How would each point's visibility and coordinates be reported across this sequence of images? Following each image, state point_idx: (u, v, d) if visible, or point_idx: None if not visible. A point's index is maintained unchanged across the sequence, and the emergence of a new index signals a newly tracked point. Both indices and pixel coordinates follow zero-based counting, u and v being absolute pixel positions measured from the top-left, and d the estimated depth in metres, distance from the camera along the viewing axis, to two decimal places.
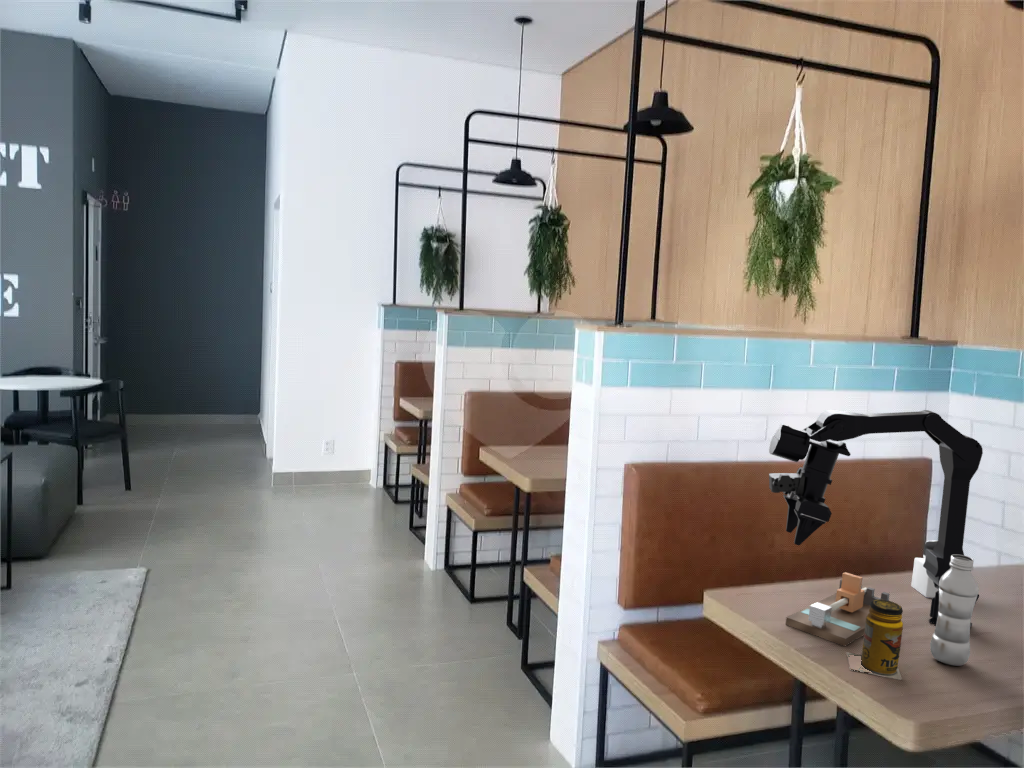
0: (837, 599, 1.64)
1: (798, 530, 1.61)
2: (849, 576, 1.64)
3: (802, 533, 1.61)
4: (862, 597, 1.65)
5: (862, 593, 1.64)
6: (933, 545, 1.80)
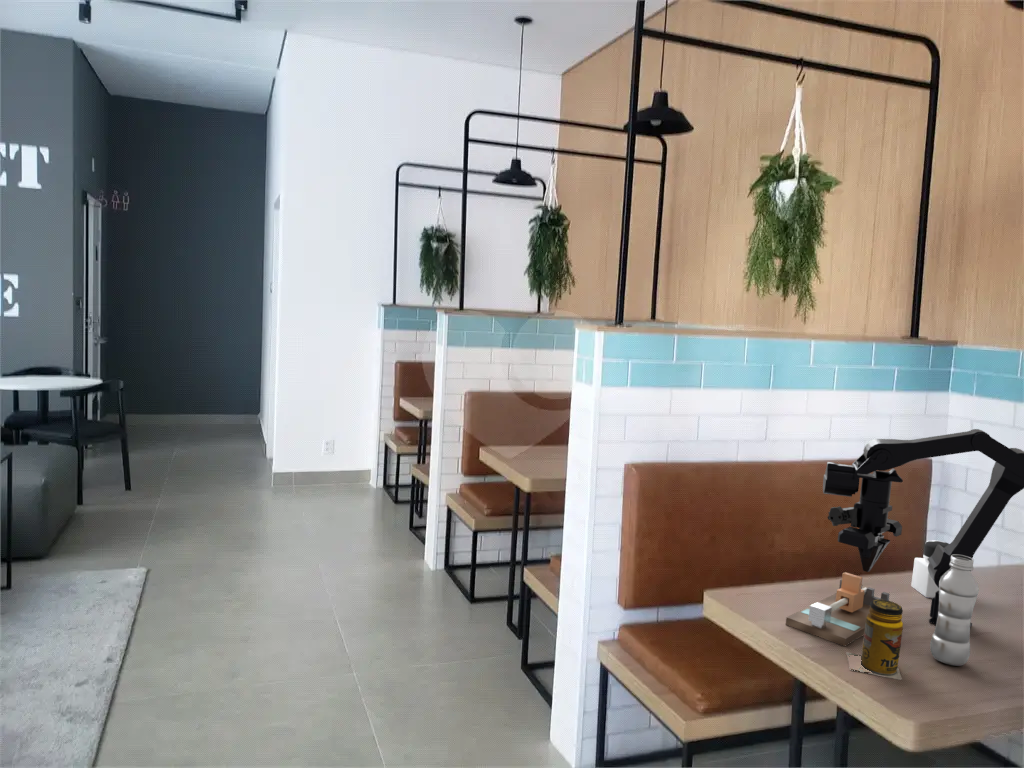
0: (837, 599, 1.64)
1: (861, 556, 1.68)
2: (849, 576, 1.64)
3: (865, 559, 1.67)
4: (862, 597, 1.65)
5: (862, 593, 1.64)
6: (933, 545, 1.80)
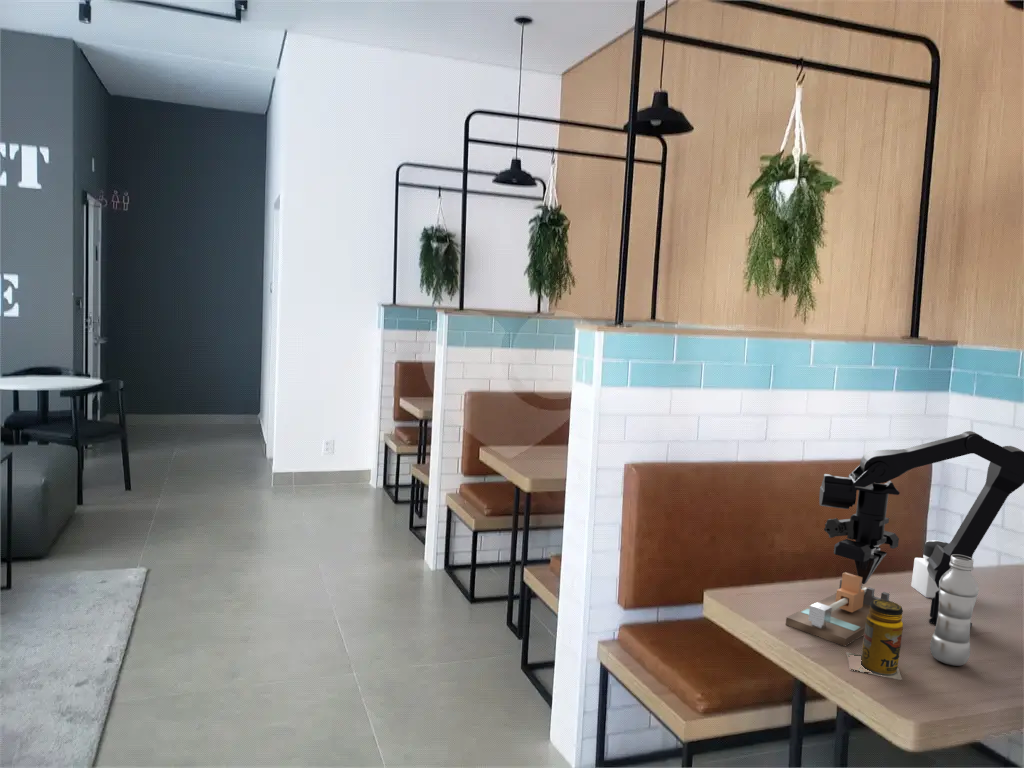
0: (837, 599, 1.64)
1: (857, 568, 1.68)
2: (849, 576, 1.64)
3: (861, 571, 1.67)
4: (862, 597, 1.65)
5: (862, 593, 1.64)
6: (933, 545, 1.80)
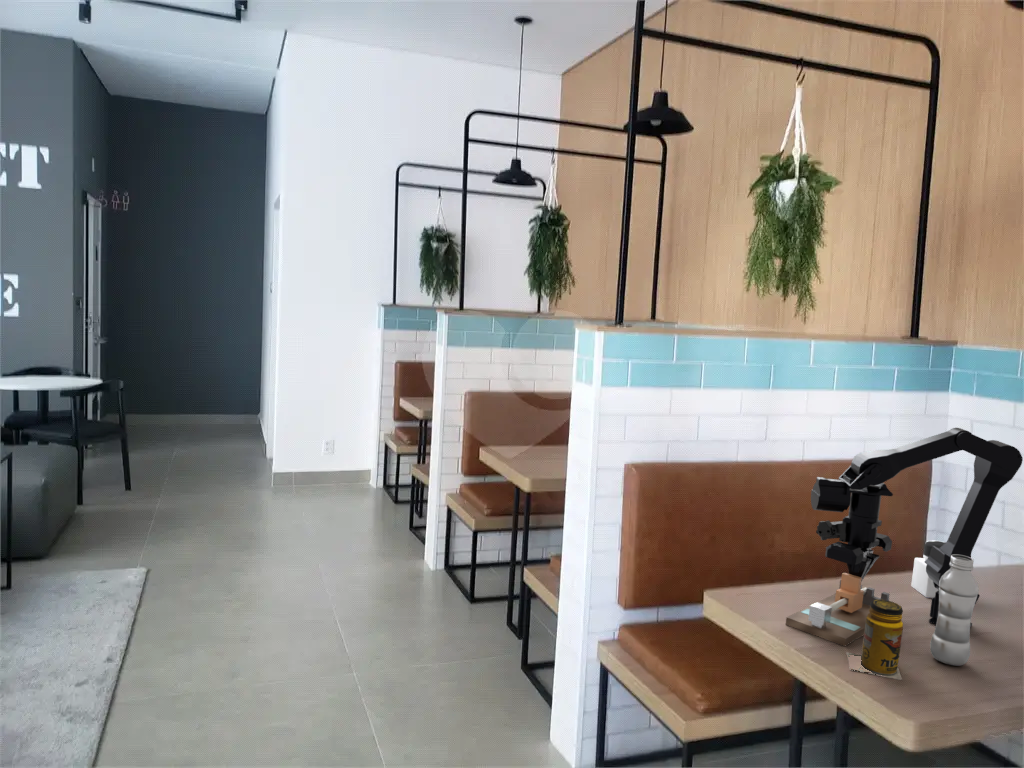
0: (836, 599, 1.64)
1: (849, 571, 1.65)
2: (848, 576, 1.64)
3: (854, 574, 1.65)
4: (861, 597, 1.64)
5: (861, 593, 1.64)
6: (933, 545, 1.80)
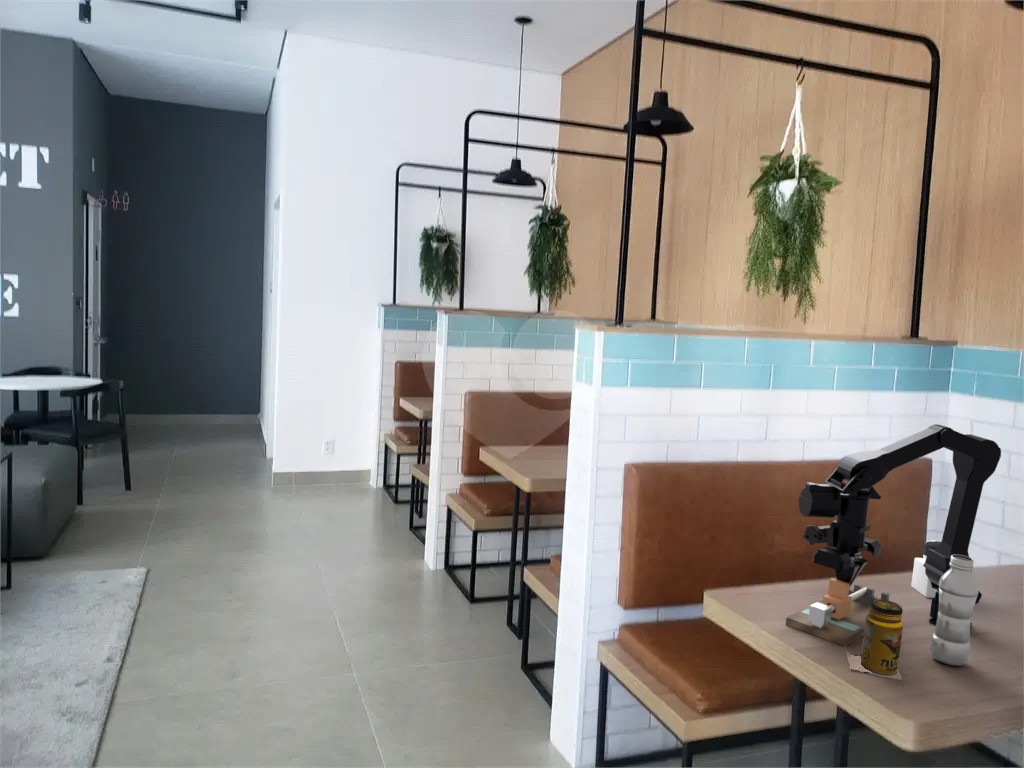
0: None
1: (837, 577, 1.61)
2: (836, 582, 1.60)
3: (842, 580, 1.61)
4: (849, 604, 1.60)
5: (849, 600, 1.60)
6: (933, 545, 1.80)
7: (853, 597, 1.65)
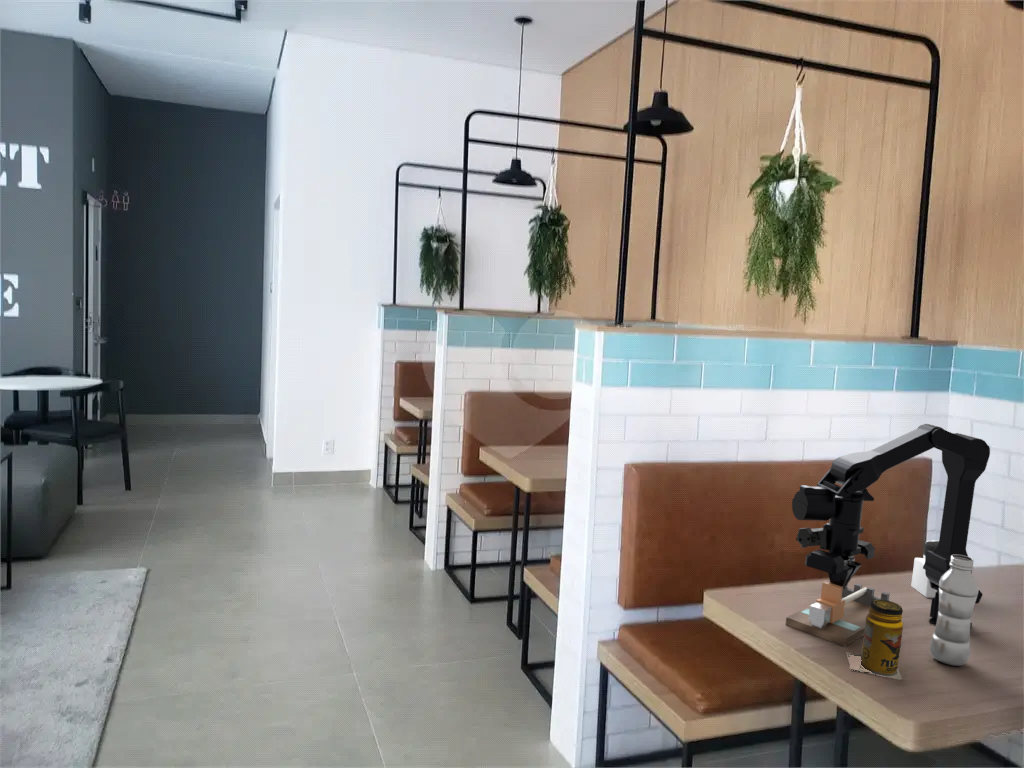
0: None
1: (830, 580, 1.59)
2: (829, 585, 1.58)
3: (835, 583, 1.59)
4: (843, 607, 1.58)
5: (843, 603, 1.58)
6: (933, 545, 1.80)
7: (853, 597, 1.65)
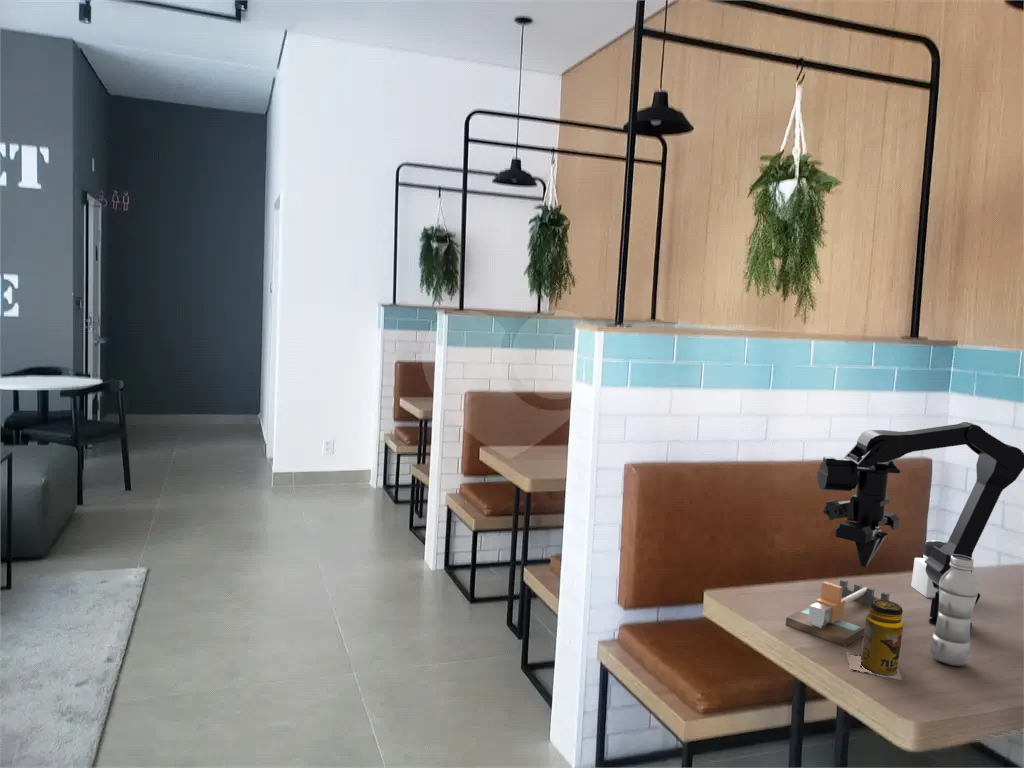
0: None
1: (858, 551, 1.64)
2: (829, 585, 1.58)
3: (863, 554, 1.63)
4: (842, 607, 1.58)
5: (842, 603, 1.58)
6: (933, 545, 1.80)
7: (853, 597, 1.65)
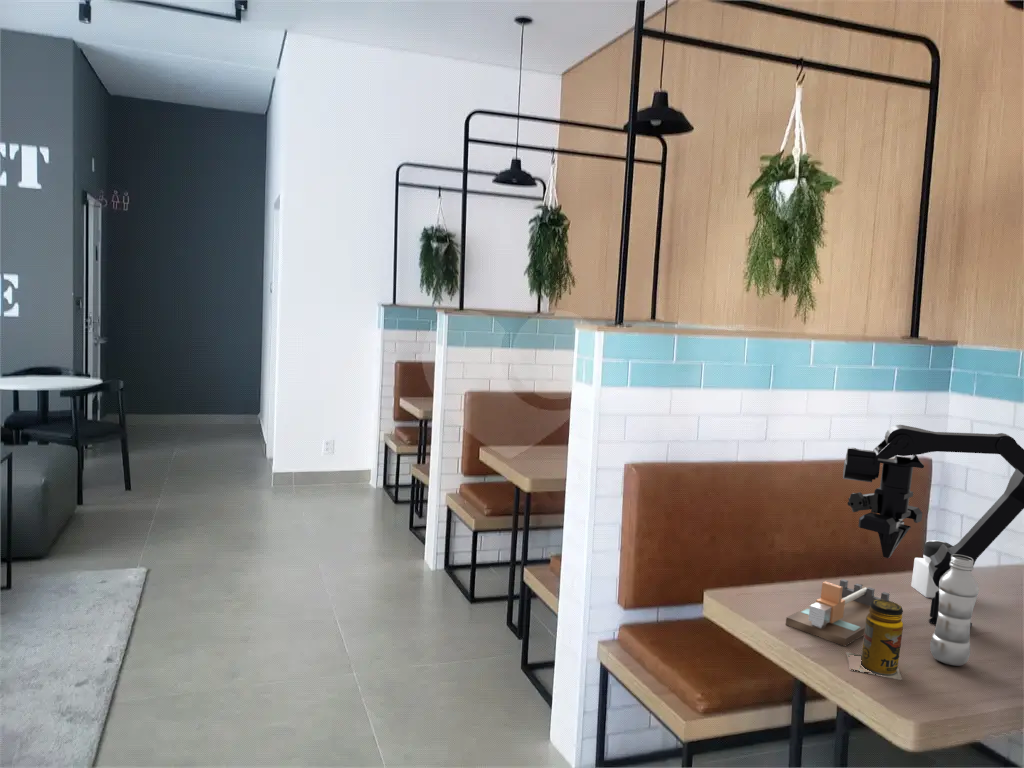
0: None
1: (881, 542, 1.67)
2: (829, 585, 1.58)
3: (885, 545, 1.67)
4: (842, 607, 1.58)
5: (842, 603, 1.58)
6: (933, 545, 1.80)
7: (853, 597, 1.65)
